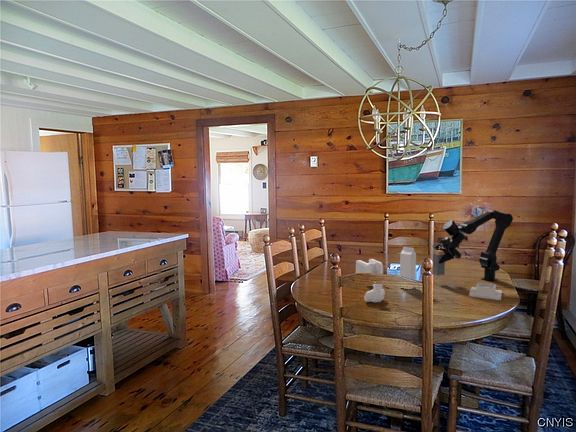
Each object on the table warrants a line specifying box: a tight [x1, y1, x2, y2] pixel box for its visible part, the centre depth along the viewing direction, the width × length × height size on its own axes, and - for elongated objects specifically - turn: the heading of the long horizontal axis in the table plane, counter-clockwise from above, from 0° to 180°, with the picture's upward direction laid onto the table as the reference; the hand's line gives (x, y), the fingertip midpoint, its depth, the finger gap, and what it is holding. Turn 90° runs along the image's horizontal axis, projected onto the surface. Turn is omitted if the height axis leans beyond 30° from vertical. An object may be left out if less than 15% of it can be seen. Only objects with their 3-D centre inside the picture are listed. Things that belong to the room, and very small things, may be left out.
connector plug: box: [432, 249, 446, 276], centre depth 224 cm, size 4×4×13 cm
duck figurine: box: [364, 284, 386, 303], centre depth 194 cm, size 12×8×11 cm
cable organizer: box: [355, 258, 384, 275], centre depth 231 cm, size 15×11×12 cm
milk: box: [399, 246, 417, 281], centre depth 216 cm, size 6×6×22 cm
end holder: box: [468, 282, 503, 301], centre depth 205 cm, size 14×14×5 cm
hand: (436, 262), depth 223 cm, fingers closed on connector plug, 4 cm apart
